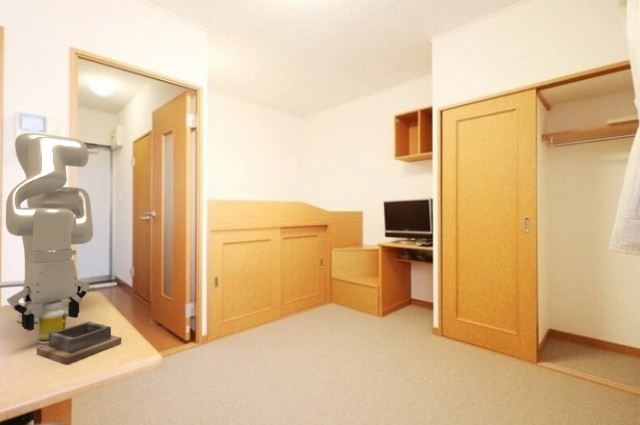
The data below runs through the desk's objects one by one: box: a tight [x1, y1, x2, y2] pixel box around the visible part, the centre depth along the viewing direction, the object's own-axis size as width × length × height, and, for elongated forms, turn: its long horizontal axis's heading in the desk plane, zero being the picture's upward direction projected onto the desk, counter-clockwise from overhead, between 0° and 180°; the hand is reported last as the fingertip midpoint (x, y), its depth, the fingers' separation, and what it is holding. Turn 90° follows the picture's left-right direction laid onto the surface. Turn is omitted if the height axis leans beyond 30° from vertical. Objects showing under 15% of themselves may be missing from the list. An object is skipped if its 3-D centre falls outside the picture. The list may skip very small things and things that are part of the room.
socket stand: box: [36, 321, 122, 366], centre depth 76 cm, size 12×12×4 cm
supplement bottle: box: [37, 300, 67, 345], centre depth 80 cm, size 5×5×10 cm
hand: (52, 322), depth 80 cm, fingers open, 9 cm apart
